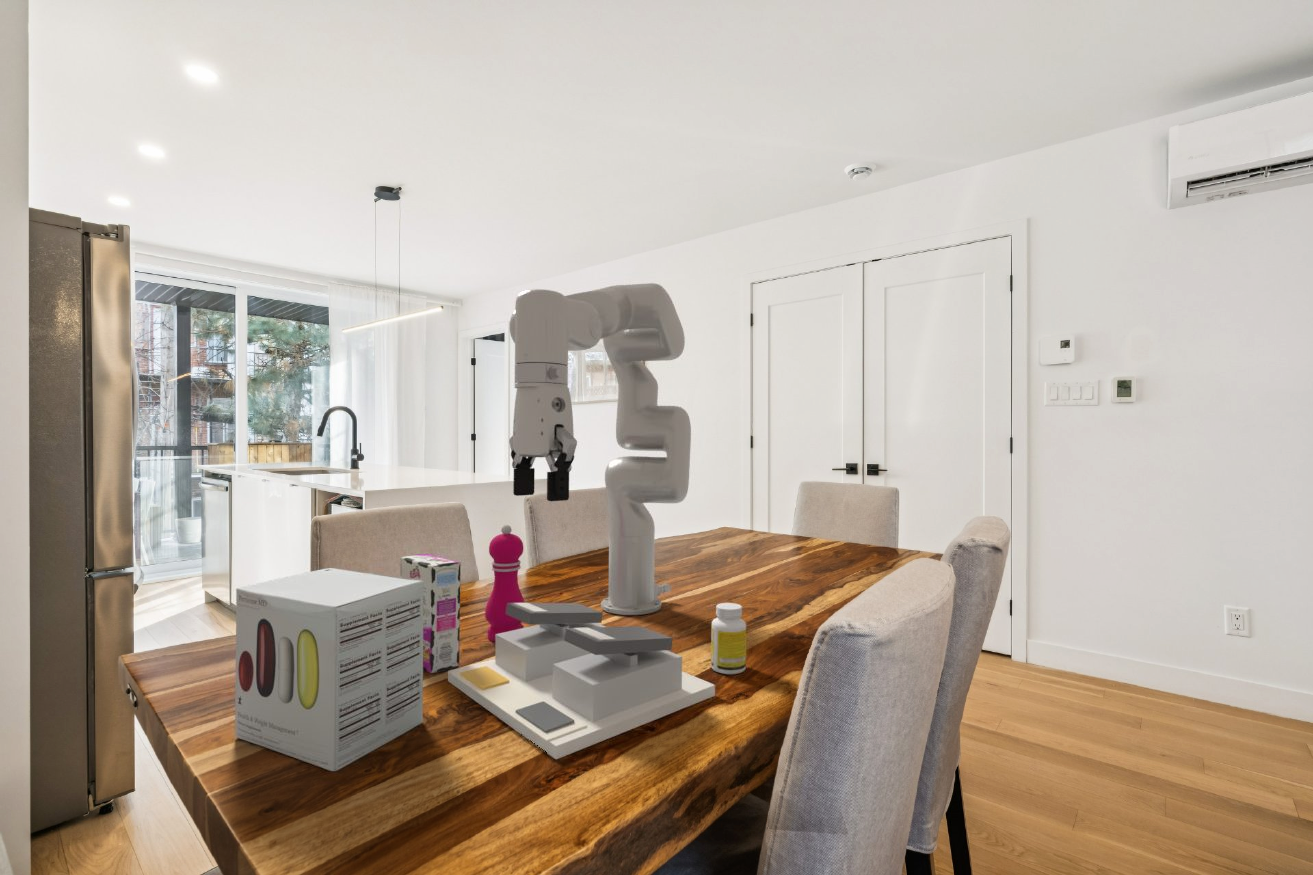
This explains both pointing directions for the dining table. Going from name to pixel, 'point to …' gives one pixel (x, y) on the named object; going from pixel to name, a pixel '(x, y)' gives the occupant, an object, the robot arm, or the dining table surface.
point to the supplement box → (328, 664)
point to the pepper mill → (504, 582)
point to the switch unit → (575, 688)
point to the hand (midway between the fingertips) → (540, 497)
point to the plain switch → (617, 639)
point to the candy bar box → (437, 608)
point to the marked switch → (553, 613)
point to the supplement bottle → (728, 640)
